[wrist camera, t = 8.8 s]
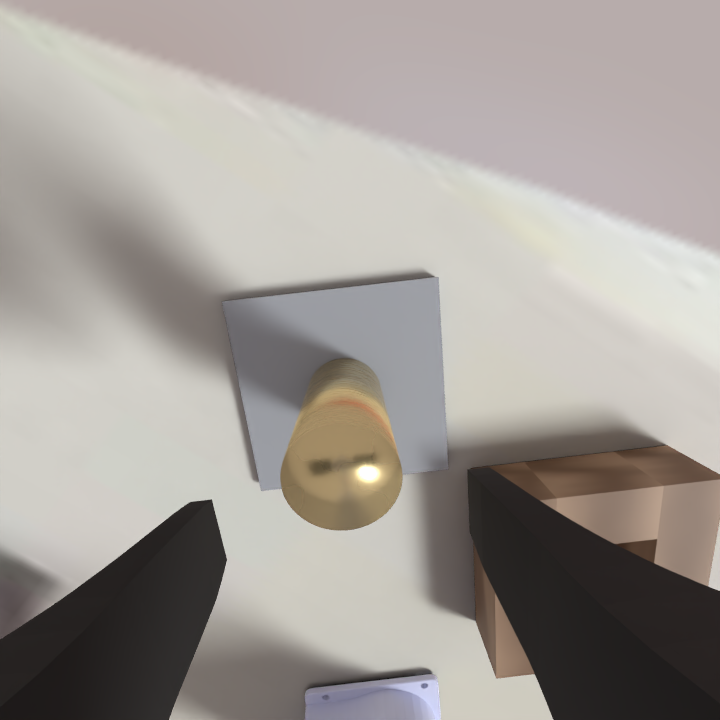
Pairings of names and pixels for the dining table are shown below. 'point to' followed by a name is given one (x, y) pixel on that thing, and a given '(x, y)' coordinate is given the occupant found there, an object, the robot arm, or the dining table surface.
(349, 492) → the brass cylinder
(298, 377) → the pad
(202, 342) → the dining table surface
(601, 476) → the block
